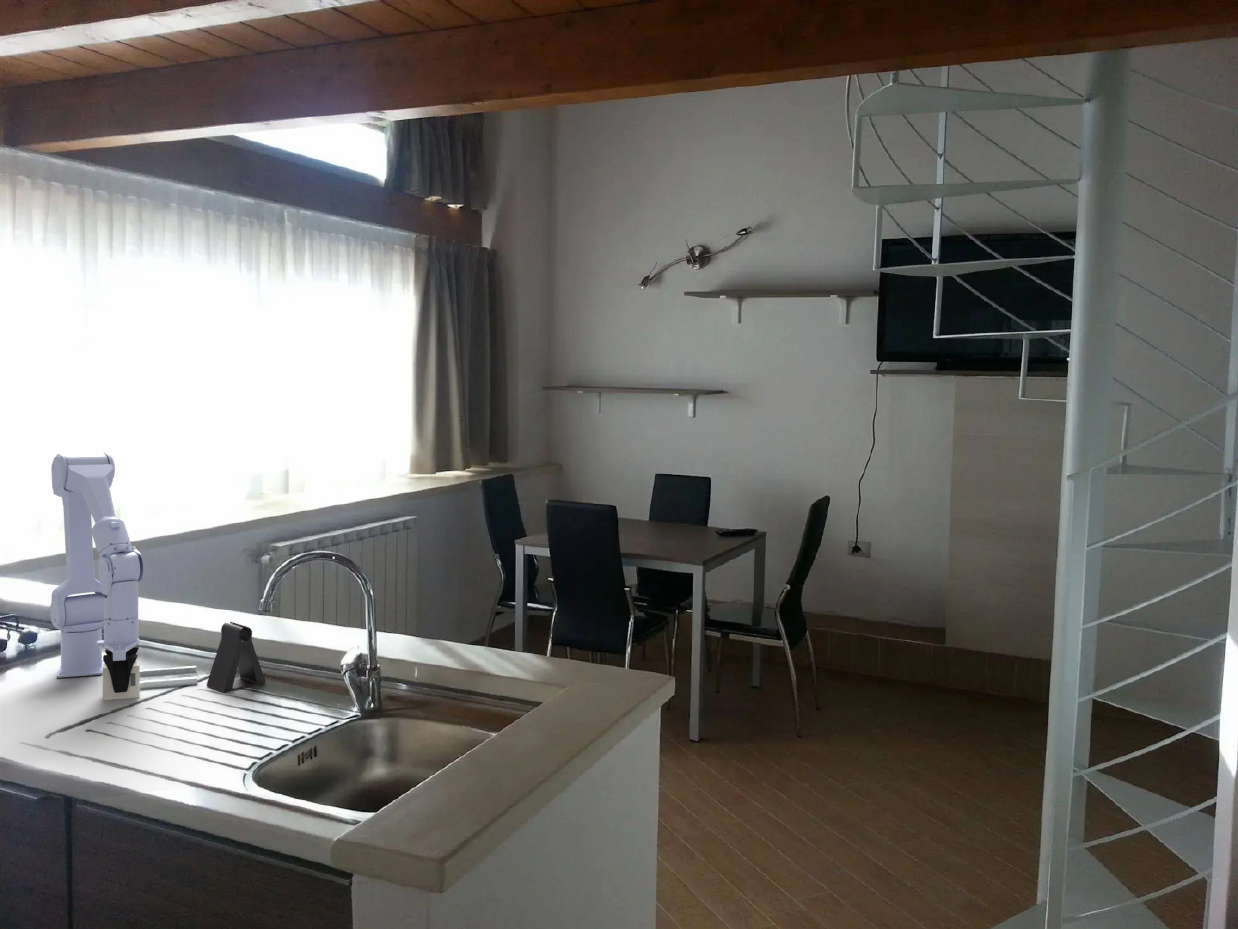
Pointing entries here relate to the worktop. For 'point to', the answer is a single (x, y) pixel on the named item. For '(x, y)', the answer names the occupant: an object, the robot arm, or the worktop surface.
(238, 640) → the dark grey hinged stand
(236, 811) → the worktop surface
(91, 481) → the robot arm
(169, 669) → the rail
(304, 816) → the worktop surface
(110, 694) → the door panel
